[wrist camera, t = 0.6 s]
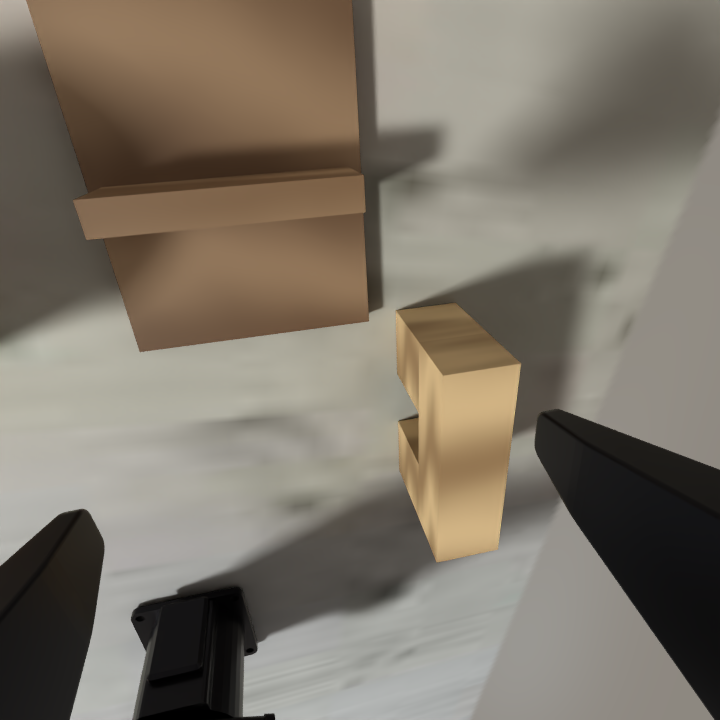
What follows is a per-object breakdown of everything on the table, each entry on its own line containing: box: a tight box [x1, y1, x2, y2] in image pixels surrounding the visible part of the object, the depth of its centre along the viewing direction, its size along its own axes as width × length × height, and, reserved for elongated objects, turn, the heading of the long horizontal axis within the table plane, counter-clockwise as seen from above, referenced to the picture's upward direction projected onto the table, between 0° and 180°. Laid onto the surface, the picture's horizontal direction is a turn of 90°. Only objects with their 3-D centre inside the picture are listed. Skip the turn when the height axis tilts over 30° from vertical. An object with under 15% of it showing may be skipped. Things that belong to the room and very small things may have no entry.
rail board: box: [26, 0, 369, 352], centre depth 16 cm, size 12×10×4 cm
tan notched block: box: [396, 303, 521, 562], centre depth 22 cm, size 10×3×6 cm, turn 3°
